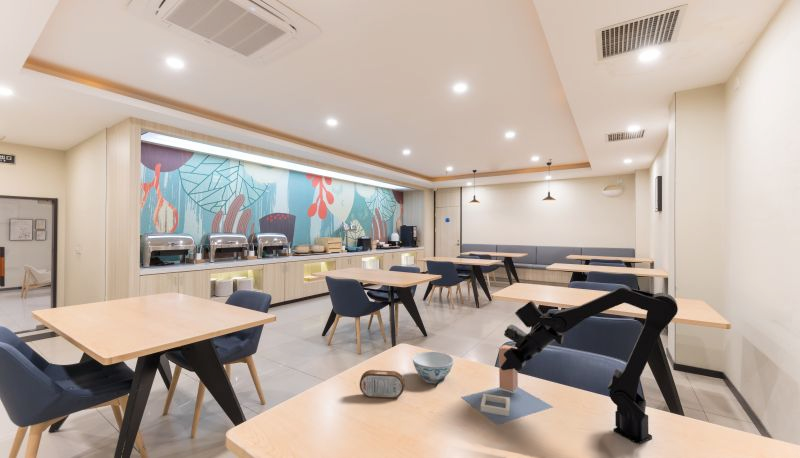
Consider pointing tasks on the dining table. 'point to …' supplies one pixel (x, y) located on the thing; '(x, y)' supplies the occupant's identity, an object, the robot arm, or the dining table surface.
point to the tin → (382, 384)
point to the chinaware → (432, 365)
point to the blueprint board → (519, 404)
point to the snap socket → (492, 408)
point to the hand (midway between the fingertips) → (504, 366)
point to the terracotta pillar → (507, 372)
